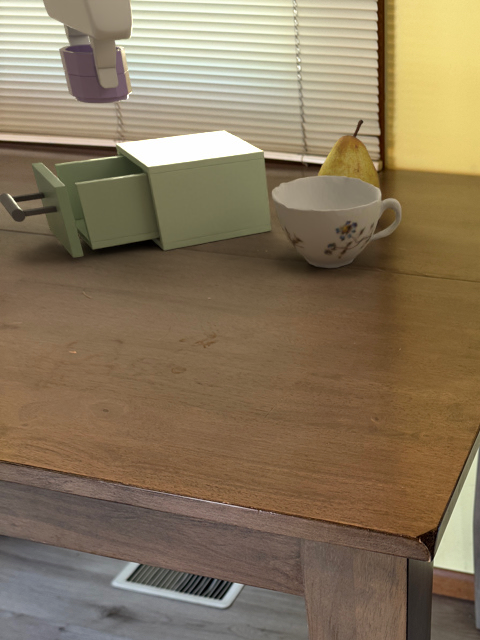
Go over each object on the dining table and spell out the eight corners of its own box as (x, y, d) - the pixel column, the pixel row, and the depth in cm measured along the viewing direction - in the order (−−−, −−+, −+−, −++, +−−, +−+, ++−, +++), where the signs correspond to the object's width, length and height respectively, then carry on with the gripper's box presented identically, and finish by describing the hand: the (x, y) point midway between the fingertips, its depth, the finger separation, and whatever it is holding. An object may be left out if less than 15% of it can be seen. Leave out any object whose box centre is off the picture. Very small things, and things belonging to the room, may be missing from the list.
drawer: (29, 265, 87) (7, 194, 82) (9, 236, 94) (-13, 169, 89) (183, 237, 94) (172, 170, 89) (153, 212, 102) (141, 149, 96)
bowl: (80, 106, 77) (68, 54, 74) (65, 95, 81) (53, 45, 78) (139, 101, 80) (131, 51, 77) (122, 90, 84) (113, 42, 81)
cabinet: (164, 250, 93) (147, 167, 87) (132, 222, 101) (115, 143, 95) (271, 230, 99) (263, 151, 93) (233, 205, 107) (224, 130, 101)
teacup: (280, 282, 86) (273, 208, 81) (276, 244, 96) (269, 176, 90) (409, 275, 88) (410, 204, 83) (393, 239, 98) (393, 172, 92)
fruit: (317, 232, 99) (310, 131, 91) (316, 210, 106) (310, 114, 98) (382, 231, 100) (382, 130, 92) (377, 210, 107) (377, 114, 99)
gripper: (5, -94, 76) (44, 66, 85) (54, -88, 63) (94, 101, 72) (69, -93, 78) (100, 63, 87) (129, -86, 66) (158, 95, 74)
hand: (98, 80), depth 80 cm, fingers closed on bowl, 6 cm apart
